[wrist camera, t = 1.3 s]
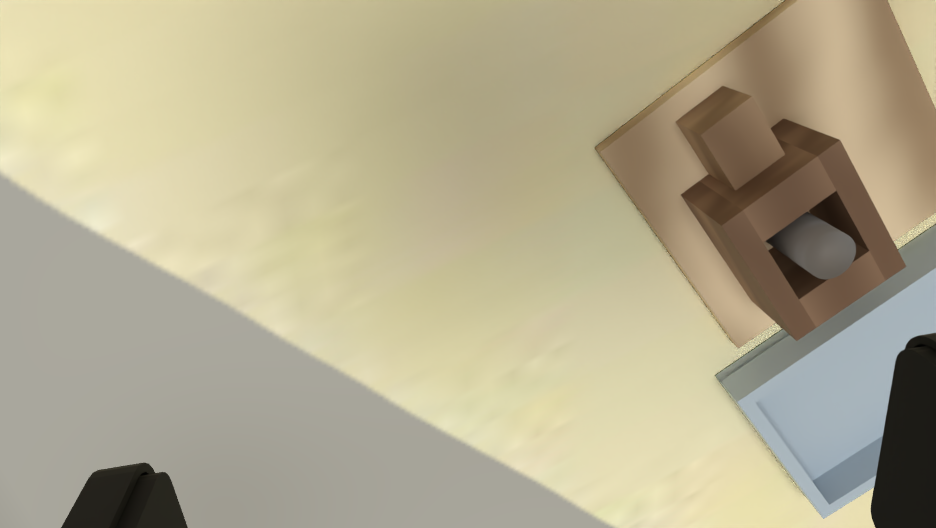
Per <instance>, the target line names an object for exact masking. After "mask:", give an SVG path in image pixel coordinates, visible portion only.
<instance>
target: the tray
mask: <svg viewBox="0 0 936 528" xmlns="http://www.w3.org/2000/svg"><path fill="white" fill-rule="evenodd" d="M898 251H899V253H900V255H901V257H902V259H903V261H904V263H905V265H906V267H905V268H904V269H902V270H901V271H899V272H898V273H896V274H895V275H893V276H892V277H890V278H889V279H887V280H886V281H885V282H883V283H882V284H880V285H879V286H877V287H876V288H874V289H873V290H871V291H870V292H868V293H867V294H865V295H864V296H862V297H861V298H860V299H858V300H857V301H855V302H854V303H852V304H851V305H849V306H848V307H846V308H845V309H843V310H842V311H840V312H839V313H838V314H836V315H835V316H833V317H832V318H830V319H829V320H827V321H826V322H824V323H823V324H821V325H820V326H818V327H817V328H815V329H814V330H813V331H811V332H810V333H808V334H807V335H805V336H804V337H802V338H801V339H799V340H798V341H796V340H795V339H794V338H792V337H791V336H790V335H789V334H788V333H787V332H786V331H785V330H784V329H782V330H781V331H779V332H778V333H776V334H775V335H773V336H772V337H771V338H769V339H768V340H766V341H765V342H763V343H762V344H760V345H759V346H757V347H756V348H755V349H753V350H752V351H750V352H749V353H747V354H746V355H744V356H743V357H741V358H740V359H739V360H737V361H736V362H734V363H733V364H731V365H730V366H728V367H727V368H725V369H724V370H722V371H721V372H720V373H718V374H717V375H715V376H716V378H717V379H718V380H719V382H720V383H721V384H722V386H723V387H724V389H725V390H726V391H727V393H728V394H729V395H730V397H731V398H732V399H733V401H734V402H735V403H736V405H737V406H738V407H739V409H740V410H741V411H742V413H743V414H744V415H745V417H746V418H747V419H748V421H749V422H750V423H751V425H752V426H753V428H754V429H755V430H756V432H757V433H758V434H759V436H760V437H761V438H762V440H763V441H764V442H765V444H766V445H767V446H768V448H769V449H770V450H771V452H772V453H773V454H774V456H775V457H776V458H777V460H778V461H779V462H780V464H781V465H782V467H783V468H784V469H785V471H786V472H787V473H788V475H789V476H790V477H791V479H792V480H793V481H794V483H795V484H796V485H797V487H798V488H799V489H800V491H801V492H802V493H803V494H804V496H805V497H806V498H807V499H808V500H809V502H810V503H811V504H812V505H813V507H814V508H815V509H816V510H817V512H818V513H819V514H820V515H821V517H822V518H823V519H824V518H826V517H827V516H829V515H831V514H832V513H834V512H835V511H837V510H838V509H840V508H842V507H843V506H845V505H846V504H848V503H850V502H851V501H853V500H854V499H856V498H858V497H859V496H861V495H862V494H864V493H865V492H867V491H869V490H870V489H872V488H873V487H874V485H875V479H876V473H877V467H878V461H879V455H880V450H881V444H882V438H883V432H884V426H885V420H886V414H887V408H888V402H889V396H890V390H891V385H892V379H893V373H894V367H895V361H896V358H897V355H898V354H899V353H900V351H902V350H905V347H906V344H907V343H908V341H909V340H910V339H911V338H913V337H916V336H919V335H925V334H931V333H936V224H935V225H934V226H932V227H931V228H929V229H928V230H927V231H925V232H924V233H922V234H921V235H919V236H918V237H916V238H915V239H913V240H912V241H910V242H909V243H908V244H906V245H905V246H903V247H902V248H900V249H899V250H898Z"/></svg>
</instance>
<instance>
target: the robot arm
mask: <svg viewBox="0 0 936 528" xmlns="http://www.w3.org/2000/svg"><path fill="white" fill-rule="evenodd" d="M871 515H872V519H873V522H874V525H875V527H876V528H936V333H931V334H925V335H919V336H916V337H913V338H911V339H910V340H909V341H908V343H907V344H906V347H905V350H902V351H900V353H899V354H898V355H897V358H896V361H895V367H894V373H893V379H892V385H891V390H890V396H889V402H888V408H887V414H886V420H885V426H884V432H883V438H882V444H881V450H880V455H879V461H878V467H877V473H876V479H875V485H874V491H873V497H872V503H871ZM61 528H187V525H186V522H185V519H184V516H183V513H182V510H181V507H180V505H179V502H178V499H177V496H176V493H175V490H174V487H173V485H172V482H171V479H170V477H169V476H168V474H167V473H165V472H160V473H155V472H154V470H153V468H152V467H151V466H150V465H149V464H147V463H139V464H133V465H127V466H121V467H114V468H108V469H102V470H98V471H96V472H94V473H92V475H91V476H90V477H89V479H88V480H87V482H86V484H85V486H84V488H83V489H82V491H81V493H80V495H79V497H78V498H77V500H76V502H75V504H74V506H73V507H72V509H71V511H70V513H69V515H68V517H67V518H66V520H65V522H64V524H63V526H62V527H61Z"/></svg>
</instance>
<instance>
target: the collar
mask: <svg viewBox="0 0 936 528" xmlns="http://www.w3.org/2000/svg"><path fill="white" fill-rule="evenodd" d="M676 123H677V125H678V127H679V128H680V130H681V131H682V133H683V134H684V136H685V138H686V139H687V141H688V142H689V144H690V145H691V147H692V149H693V150H694V152H695V153H696V155H697V156H698V158H699V160H700V161H701V163H702V164H703V166H704V167H705V169H706V171H707V172H708V175H707V176H705V177H704V178H703V179H701V180H700V181H698V182H697V183H696V184H694V185H693V186H692V187H690V188H689V189H688V190H686V191H685V192H684V193H682V194H681V196H682V198H683V199H684V201H685V202H686V204H687V205H688V207H689V208H690V210H691V211H692V213H693V214H694V216H695V217H696V219H697V220H698V222H699V223H700V225H701V226H702V228H703V229H704V231H705V232H706V234H707V235H708V237H709V238H710V240H711V241H712V243H713V244H714V246H715V247H716V249H717V250H718V252H719V253H720V255H721V256H722V258H723V259H724V261H725V262H726V264H727V265H728V267H729V268H730V270H731V271H732V273H733V274H734V276H735V277H736V279H737V280H738V282H739V283H740V285H741V286H742V288H743V289H744V291H745V292H746V294H747V295H748V297H749V298H750V300H751V301H752V302H753V303H754V304H756V305H757V306H758V307H759V308H760V309H761V310H762V311H763V312H765V313H766V314H767V315H768V316H769V317H770V318H771V319H772V320H773V321H775V322H776V323H777V324H778V325H779V326H780V327H781V328H782V329H784V330H785V331H786V332H787V333H788V334H789V335H790V336H791V337H792V338H794V339H795V340H796V341H798V340H799V339H801V338H802V337H804V336H805V335H807V334H808V333H810V332H811V331H813V330H814V329H815V328H817V327H818V326H820V325H821V324H823V323H824V322H826V321H827V320H829V319H830V318H832V317H833V316H835V315H836V314H838V313H839V312H840V311H842V310H843V309H845V308H846V307H848V306H849V305H851V304H852V303H854V302H855V301H857V300H858V299H860V298H861V297H862V296H864V295H865V294H867V293H868V292H870V291H871V290H873V289H874V288H876V287H877V286H879V285H880V284H882V283H883V282H885V281H886V280H887V279H889V278H890V277H892V276H893V275H895V274H896V273H898V272H899V271H901V270H902V269H904V268H905V267H906V265H905V263H904V261H903V259H902V257H901V255H900V253H899V251H898V249H897V247H896V246H895V244H894V242H893V240H892V238H891V236H890V234H889V232H888V230H887V228H886V226H885V225H884V223H883V221H882V219H881V217H880V215H879V213H878V211H877V209H876V207H875V205H874V204H873V202H872V200H871V198H870V196H869V194H868V192H867V190H866V188H865V186H864V184H863V183H862V181H861V179H860V177H859V175H858V173H857V171H856V169H855V167H854V165H853V163H852V162H851V160H850V158H849V156H848V154H847V152H846V150H845V148H844V146H843V144H842V142H841V141H840V140H839V139H837V138H834V137H831V136H829V135H826V134H823V133H821V132H818V131H816V130H813V129H810V128H808V127H805V126H802V125H800V124H797V123H795V122H792V121H789V120H787V119H782V120H781V121H779V122H778V123H777V124H775V125H774V126H773V127H771V128H770V127H769V125H768V123H767V121H766V120H765V118H764V116H763V114H762V113H761V111H760V109H759V107H758V105H757V104H756V102H755V100H754V98H753V97H752V96H750V95H747V94H745V93H742V92H739V91H736V90H733V89H730V88H728V87H725V86H722V87H720V88H719V89H718V90H716V91H715V92H714V93H712V94H711V95H710V96H709V97H707V98H706V99H705V100H703V101H702V102H701V103H699V104H698V105H697V106H695V107H694V108H693V109H691V110H690V111H689V112H688V113H686V114H685V115H684V116H682V117H681V118H680V119H678V120H677V121H676ZM808 210H809V211H810V213H811V214H812V215H814V216H816V217H817V218H819V219H821V220H823V221H824V222H826V223H828V224H830V225H831V226H833V227H835V228H837V229H838V230H840V231H842V232H844V233H845V234H847V235H849V236H850V237H851V238H852V239H853V240H854V242H855V245H856V254H855V258H854V260H853V262H852V264H851V265H850V267H849V268H848V269H847V270H846V271H845V272H844V273H842V274H841V275H839V276H837V277H835V278H832V279H819V278H817V277H815V276H814V275H812V274H811V273H809V272H808V271H807V270H805V269H804V268H802V267H801V266H799V265H798V264H797V263H795V262H794V261H792V260H791V259H790V258H788V257H787V256H785V255H784V254H783V253H781V252H780V251H778V250H777V249H776V248H774V247H772V248H771V249H770V250H767V248H766V246H765V245H764V243H763V242H765V241H766V240H768V239H769V238H771V237H772V236H773V235H775V234H776V233H778V232H779V231H780V230H782V229H783V228H785V227H786V226H787V225H789V224H790V223H792V222H793V221H794V220H796V219H797V218H799V217H800V216H801V215H803V214H804V213H806V212H807V211H808Z"/></svg>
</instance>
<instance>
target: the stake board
mask: <svg viewBox="0 0 936 528" xmlns="http://www.w3.org/2000/svg"><path fill="white" fill-rule="evenodd" d="M722 86H725V87H728V88H730V89H733V90H736V91H739V92H742V93H745V94H747V95H750V96H752V97H753V98H754V100H755V102H756V104H757V105H758V107H759V109H760V111H761V113H762V114H763V116H764V118H765V120H766V121H767V123H768V125H769V127H770V128H771V127H773V126H774V125H775V124H777V123H778V122H779V121H781V120H782V119H787V120H789V121H792V122H795V123H797V124H800V125H802V126H805V127H808V128H810V129H813V130H816V131H818V132H821V133H823V134H826V135H829V136H831V137H834V138H837V139H839V140H840V141H841V142H842V144H843V146H844V148H845V150H846V152H847V154H848V156H849V158H850V160H851V162H852V163H853V165H854V167H855V169H856V171H857V173H858V175H859V177H860V179H861V181H862V183H863V184H864V186H865V188H866V190H867V192H868V194H869V196H870V198H871V200H872V202H873V204H874V205H875V207H876V209H877V211H878V213H879V215H880V217H881V219H882V221H883V223H884V225H885V226H886V228H887V230H888V232H889V234H890V236H891V238H892V240H893V242H894V241H895V240H896V239H898V238H899V237H901V236H902V235H904V234H905V233H907V232H908V231H910V230H911V229H912V228H914V227H915V226H917V225H918V224H920V223H921V222H923V221H924V220H926V219H927V218H928V217H930V216H931V215H933V214H934V213H936V109H935V107H934V104H933V102H932V100H931V98H930V95H929V93H928V91H927V89H926V86H925V84H924V82H923V80H922V77H921V75H920V73H919V71H918V68H917V66H916V64H915V61H914V59H913V57H912V55H911V52H910V50H909V48H908V46H907V43H906V41H905V39H904V37H903V34H902V32H901V30H900V28H899V25H898V23H897V21H896V19H895V16H894V14H893V12H892V10H891V7H890V5H889V3H888V1H887V0H786V1H784V2H783V3H782V4H780V5H779V6H778V7H777V8H775V9H774V10H773V11H771V12H770V13H769V14H767V15H766V16H765V17H764V18H762V19H761V20H760V21H758V22H757V23H756V24H754V25H753V26H752V27H751V28H749V29H748V30H747V31H745V32H744V33H743V34H741V35H740V36H739V37H738V38H736V39H735V40H734V41H732V42H731V43H730V44H729V45H727V46H726V47H725V48H723V49H722V50H721V51H719V52H718V53H717V54H716V55H714V56H713V57H712V58H710V59H709V60H708V61H706V62H705V63H704V64H703V65H701V66H700V67H699V68H697V69H696V70H695V71H694V72H692V73H691V74H690V75H688V76H687V77H686V78H684V79H683V80H682V81H681V82H679V83H678V84H677V85H675V86H674V87H673V88H671V89H670V90H669V91H668V92H666V93H665V94H664V95H662V96H661V97H660V98H658V99H657V100H656V101H655V102H653V103H652V104H651V105H649V106H648V107H647V108H646V109H644V110H643V111H642V112H640V113H639V114H638V115H636V116H635V117H634V118H633V119H631V120H630V121H629V122H627V123H626V124H625V125H623V126H622V127H621V128H620V129H618V130H617V131H616V132H614V133H613V134H612V135H611V136H609V137H608V138H607V139H605V140H604V141H603V142H601V143H600V144H599V145H598V146H596V147H595V149H596V150H597V152H598V153H599V155H600V156H601V158H602V159H603V160H604V162H605V163H606V165H607V166H608V167H609V169H610V170H611V172H612V173H613V175H614V176H615V177H616V179H617V180H618V182H619V183H620V184H621V186H622V187H623V189H624V190H625V191H626V193H627V194H628V196H629V197H630V199H631V200H632V201H633V203H634V204H635V206H636V207H637V208H638V210H639V211H640V213H641V214H642V216H643V217H644V218H645V220H646V221H647V223H648V224H649V225H650V227H651V228H652V230H653V231H654V232H655V234H656V235H657V237H658V238H659V240H660V241H661V242H662V244H663V245H664V247H665V248H666V249H667V251H668V252H669V254H670V255H671V257H672V258H673V259H674V261H675V262H676V264H677V265H678V266H679V268H680V269H681V271H682V272H683V273H684V275H685V276H686V278H687V279H688V281H689V282H690V283H691V285H692V286H693V288H694V289H695V290H696V292H697V293H698V295H699V296H700V298H701V299H702V300H703V302H704V303H705V305H706V306H707V307H708V309H709V310H710V312H711V313H712V314H713V316H714V317H715V319H716V320H717V322H718V323H719V324H720V326H721V327H722V329H723V330H724V331H725V333H726V334H727V336H728V337H729V339H730V340H731V341H732V342H733V343H734V344H735V345H736V346H737V347H738V348H740V347H741V346H743V345H744V344H746V343H747V342H748V341H750V340H751V339H753V338H754V337H756V336H757V335H759V334H760V333H762V332H763V331H764V330H766V329H767V328H769V327H770V326H772V325H773V324H775V323H776V322H775V321H773V320H772V319H771V318H770V317H769V316H768V315H767V314H766V313H765V312H763V311H762V310H761V309H760V308H759V307H758V306H757V305H756V304H754V303H753V302H752V301H751V300H750V298H749V297H748V295H747V294H746V292H745V291H744V289H743V288H742V286H741V285H740V283H739V282H738V280H737V279H736V277H735V276H734V274H733V273H732V271H731V270H730V268H729V267H728V265H727V264H726V262H725V261H724V259H723V258H722V256H721V255H720V253H719V252H718V250H717V249H716V247H715V246H714V244H713V243H712V241H711V240H710V238H709V237H708V235H707V234H706V232H705V231H704V229H703V228H702V226H701V225H700V223H699V222H698V220H697V219H696V217H695V216H694V214H693V213H692V211H691V210H690V208H689V207H688V205H687V204H686V202H685V201H684V199H683V198H682V196H681V194H682V193H684V192H685V191H686V190H688V189H689V188H690V187H692V186H693V185H694V184H696V183H697V182H698V181H700V180H701V179H703V178H704V177H705V176H707V175H708V172H707V171H706V169H705V167H704V166H703V164H702V163H701V161H700V160H699V158H698V156H697V155H696V153H695V152H694V150H693V149H692V147H691V145H690V144H689V142H688V141H687V139H686V138H685V136H684V134H683V133H682V131H681V130H680V128H679V127H678V125H677V123H676V121H677V120H678V119H680V118H681V117H682V116H684V115H685V114H686V113H688V112H689V111H690V110H691V109H693V108H694V107H695V106H697V105H698V104H699V103H701V102H702V101H703V100H705V99H706V98H707V97H709V96H710V95H711V94H712V93H714V92H715V91H716V90H718V89H719V88H720V87H722ZM763 243H764V245H765V246H766V248H767V250H770V249H771V248H772V247H774V248H776V249H777V250H778V251H780V252H781V253H783V254H784V255H785V256H787V257H788V258H790V259H791V260H792V261H794V262H795V263H797V264H798V265H799V266H801V267H802V268H804V269H805V270H807V271H808V272H809V273H811V274H812V275H814V276H815V277H817V278H819V279H832V278H835V277H837V276H839V275H841V274H842V273H844V272H845V271H846V270H847V269H848V268H849V267H850V265H851V264H852V262H853V260H854V258H855V254H856V245H855V242H854V240H853V239H852V238H851V237H850V236H849V235H847V234H845V233H844V232H842V231H840V230H838V229H837V228H835V227H833V226H831V225H830V224H828V223H826V222H824V221H823V220H821V219H819V218H817V217H816V216H814V215H812V214H811V213H810V211H809V210H808V211H807V212H806V213H804V214H803V215H801V216H800V217H799V218H797V219H796V220H794V221H793V222H792V223H790V224H789V225H787V226H786V227H785V228H783V229H782V230H780V231H779V232H778V233H776V234H775V235H773V236H772V237H771V238H769V239H768V240H766V241H765V242H763Z"/></svg>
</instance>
